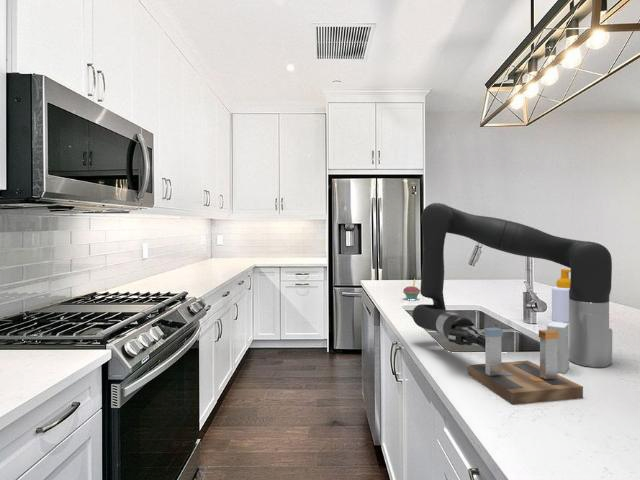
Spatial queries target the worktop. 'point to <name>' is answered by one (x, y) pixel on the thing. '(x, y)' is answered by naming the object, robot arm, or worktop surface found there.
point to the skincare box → (561, 345)
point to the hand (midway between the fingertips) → (490, 344)
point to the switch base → (525, 383)
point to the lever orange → (548, 353)
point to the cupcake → (411, 291)
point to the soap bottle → (561, 298)
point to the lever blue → (493, 351)
